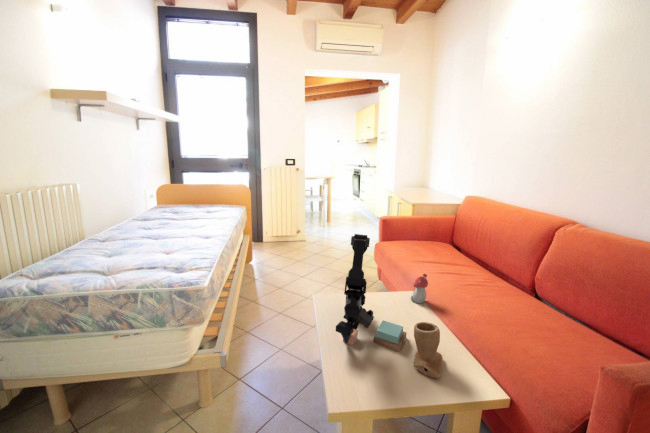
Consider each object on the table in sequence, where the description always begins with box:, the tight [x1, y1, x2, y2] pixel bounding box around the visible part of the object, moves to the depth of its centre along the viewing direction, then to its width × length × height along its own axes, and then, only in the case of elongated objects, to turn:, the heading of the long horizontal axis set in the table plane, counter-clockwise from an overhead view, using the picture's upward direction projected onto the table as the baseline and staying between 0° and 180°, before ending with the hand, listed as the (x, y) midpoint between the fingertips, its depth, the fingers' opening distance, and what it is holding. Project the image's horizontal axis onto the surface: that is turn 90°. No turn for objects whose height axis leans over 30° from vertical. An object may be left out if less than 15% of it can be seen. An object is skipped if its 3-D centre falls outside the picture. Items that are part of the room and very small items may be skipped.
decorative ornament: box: [410, 273, 429, 304], centre depth 163 cm, size 9×6×15 cm
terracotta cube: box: [342, 329, 359, 346], centre depth 126 cm, size 4×4×4 cm
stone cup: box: [413, 321, 443, 379], centre depth 114 cm, size 15×12×15 cm
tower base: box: [372, 331, 407, 352], centre depth 129 cm, size 11×11×3 cm
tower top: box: [375, 319, 404, 344], centre depth 128 cm, size 9×9×3 cm
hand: (350, 338), depth 127 cm, fingers open, 7 cm apart
